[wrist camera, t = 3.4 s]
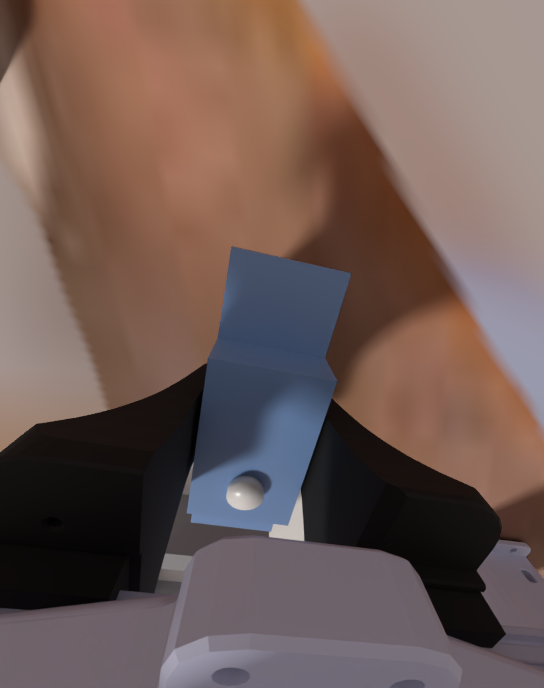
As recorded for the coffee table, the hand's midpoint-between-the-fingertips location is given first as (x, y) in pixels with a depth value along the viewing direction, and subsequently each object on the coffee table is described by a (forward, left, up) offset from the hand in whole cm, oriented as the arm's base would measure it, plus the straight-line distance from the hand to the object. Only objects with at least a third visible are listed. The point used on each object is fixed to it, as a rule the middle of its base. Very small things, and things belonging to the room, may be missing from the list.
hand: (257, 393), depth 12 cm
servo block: (0, 0, -1) cm, 1 cm away
